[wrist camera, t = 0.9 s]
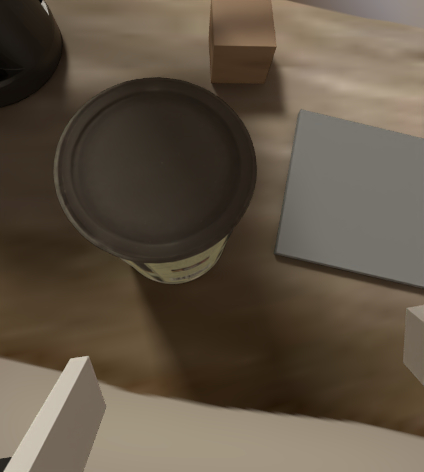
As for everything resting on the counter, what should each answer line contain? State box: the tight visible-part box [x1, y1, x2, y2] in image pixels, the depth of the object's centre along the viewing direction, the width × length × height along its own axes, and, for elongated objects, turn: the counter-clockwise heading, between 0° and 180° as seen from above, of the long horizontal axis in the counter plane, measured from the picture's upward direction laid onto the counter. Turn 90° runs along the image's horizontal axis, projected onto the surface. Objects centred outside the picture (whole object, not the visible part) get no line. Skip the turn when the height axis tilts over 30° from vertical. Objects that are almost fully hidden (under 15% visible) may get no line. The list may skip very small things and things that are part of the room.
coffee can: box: [54, 77, 257, 284], centre depth 22 cm, size 10×10×14 cm
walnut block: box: [209, 0, 276, 83], centre depth 32 cm, size 6×6×5 cm
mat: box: [274, 109, 424, 289], centre depth 31 cm, size 16×16×1 cm
